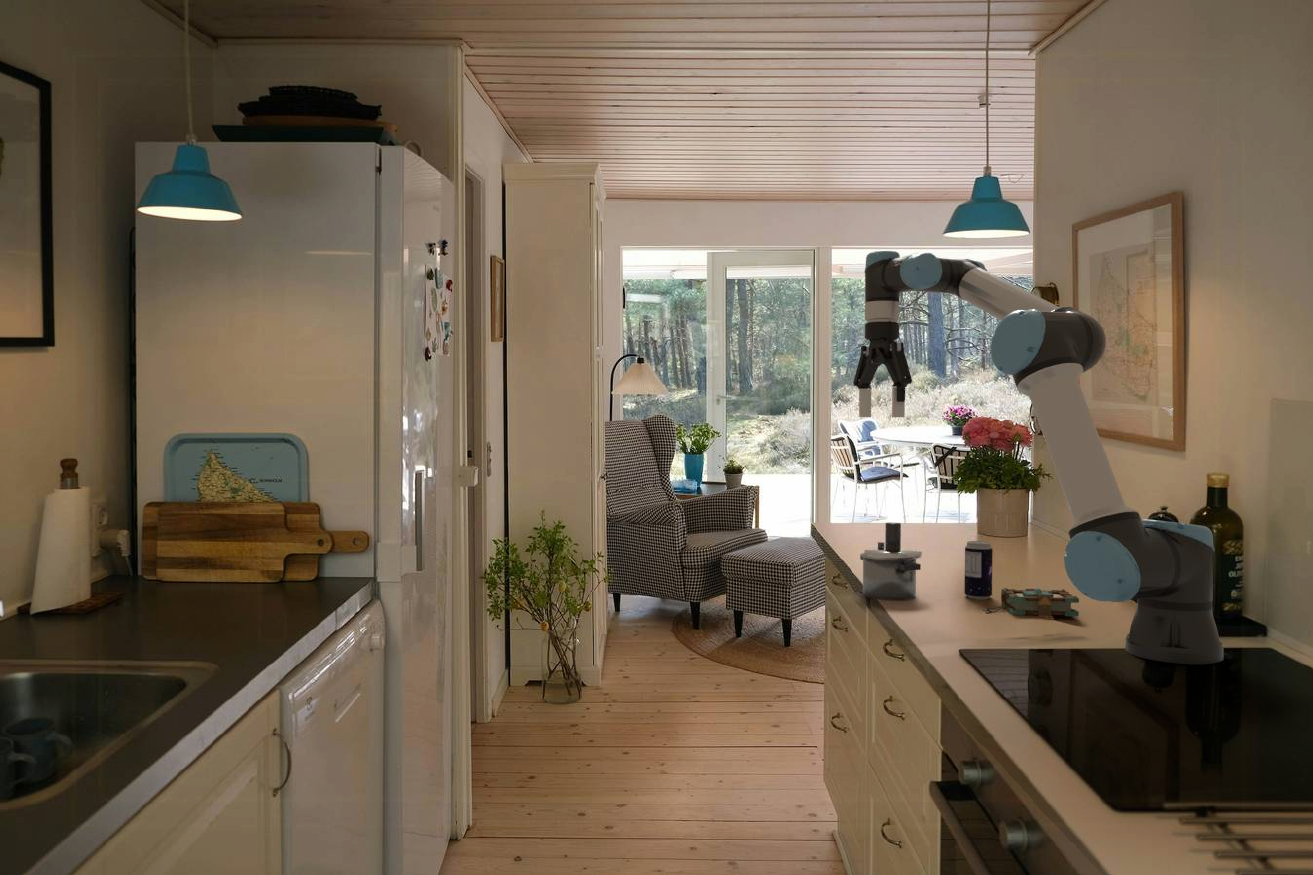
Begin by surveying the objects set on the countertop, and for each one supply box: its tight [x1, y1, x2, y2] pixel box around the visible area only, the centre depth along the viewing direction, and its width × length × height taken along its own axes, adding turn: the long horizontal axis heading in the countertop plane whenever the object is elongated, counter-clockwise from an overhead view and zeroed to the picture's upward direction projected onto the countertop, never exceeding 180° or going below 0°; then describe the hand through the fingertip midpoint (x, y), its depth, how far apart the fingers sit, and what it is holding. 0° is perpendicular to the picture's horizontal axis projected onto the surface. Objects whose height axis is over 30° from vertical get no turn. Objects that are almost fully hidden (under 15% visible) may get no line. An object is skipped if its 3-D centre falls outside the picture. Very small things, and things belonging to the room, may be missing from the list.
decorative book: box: [982, 587, 1080, 621], centre depth 204 cm, size 13×18×5 cm
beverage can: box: [963, 540, 994, 601], centre depth 219 cm, size 6×6×12 cm
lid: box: [863, 522, 923, 560], centre depth 219 cm, size 12×12×7 cm
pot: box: [859, 552, 922, 602], centre depth 221 cm, size 12×17×9 cm
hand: (881, 417), depth 227 cm, fingers open, 13 cm apart
